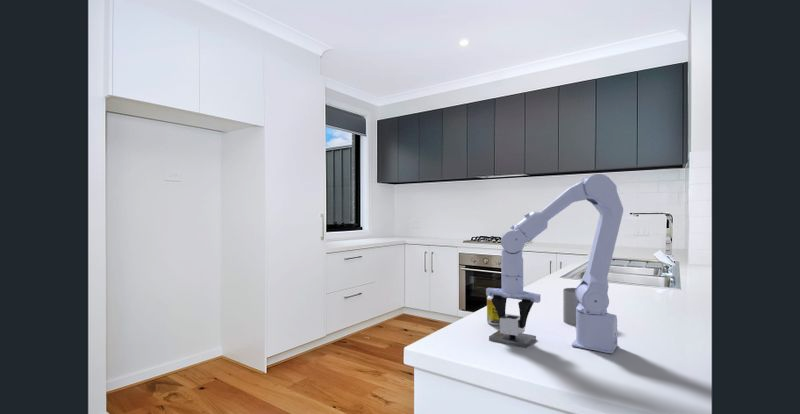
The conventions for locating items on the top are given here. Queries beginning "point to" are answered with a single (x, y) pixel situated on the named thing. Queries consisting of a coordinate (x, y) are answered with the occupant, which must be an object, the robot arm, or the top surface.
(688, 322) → the top surface
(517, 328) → the square hole block
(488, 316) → the supplement bottle
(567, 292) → the cup
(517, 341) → the block
